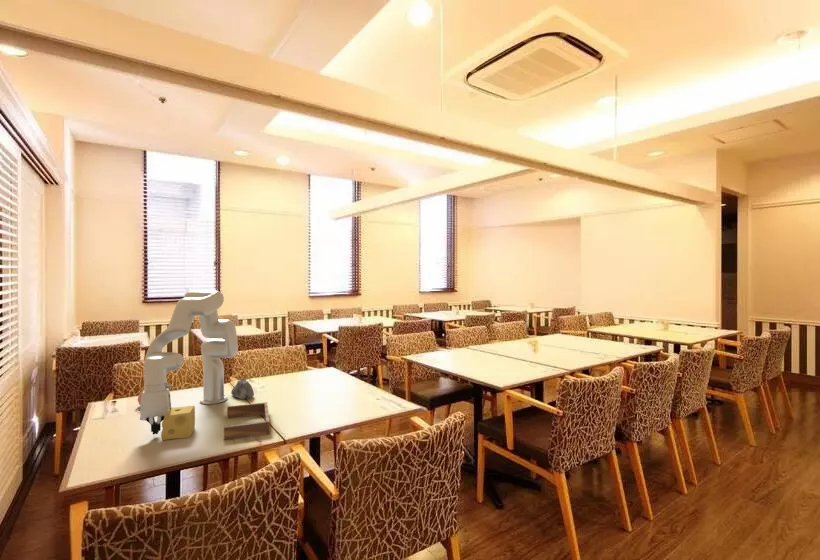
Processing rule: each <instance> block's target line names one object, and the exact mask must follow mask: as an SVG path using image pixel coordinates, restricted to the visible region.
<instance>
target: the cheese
mask: <svg viewBox="0 0 820 560" xmlns="http://www.w3.org/2000/svg"><path fill="white" fill-rule="evenodd" d="M195 426H196V408H195V405H188V406H177V407H176V406H175V407H171V410H170V412H169V413H168V414H166V415H164V420H163V421H161V428H162V431H160V433H161V434H160V438H161V441H166V440H174V439H175V440H176V439H187V438H190V437H191V435H192V433H193V432H194V429H195Z"/></svg>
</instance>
